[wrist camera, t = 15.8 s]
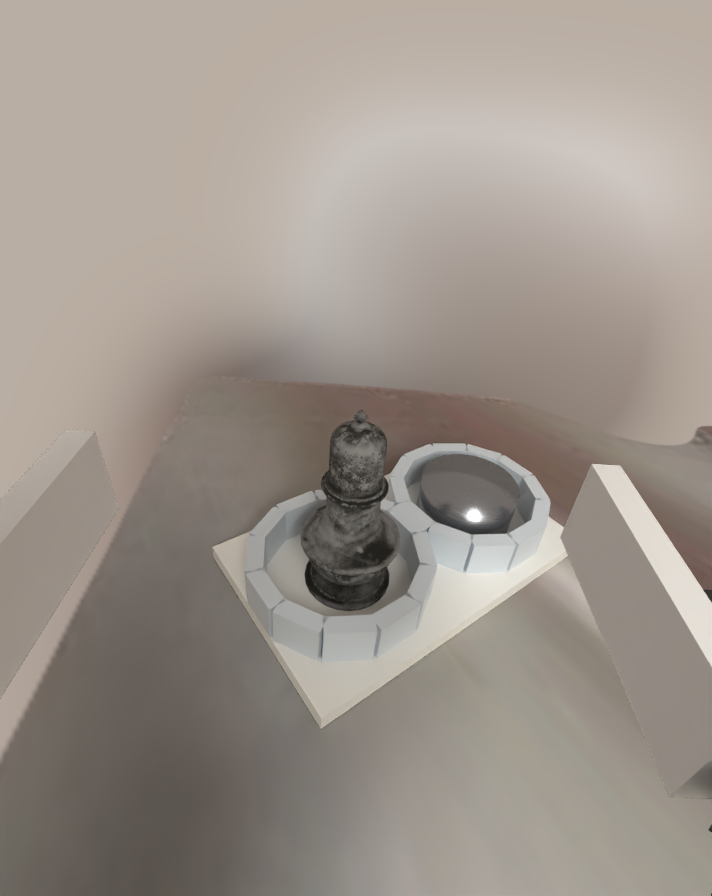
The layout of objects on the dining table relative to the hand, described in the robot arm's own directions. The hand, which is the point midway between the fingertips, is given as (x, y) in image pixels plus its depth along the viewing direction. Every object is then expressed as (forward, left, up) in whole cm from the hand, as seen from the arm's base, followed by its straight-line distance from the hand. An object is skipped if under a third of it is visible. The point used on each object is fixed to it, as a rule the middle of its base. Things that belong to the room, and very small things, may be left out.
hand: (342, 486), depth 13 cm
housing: (-12, -7, -16) cm, 22 cm away
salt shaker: (-7, -7, -16) cm, 19 cm away
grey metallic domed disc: (-17, -7, -16) cm, 25 cm away
